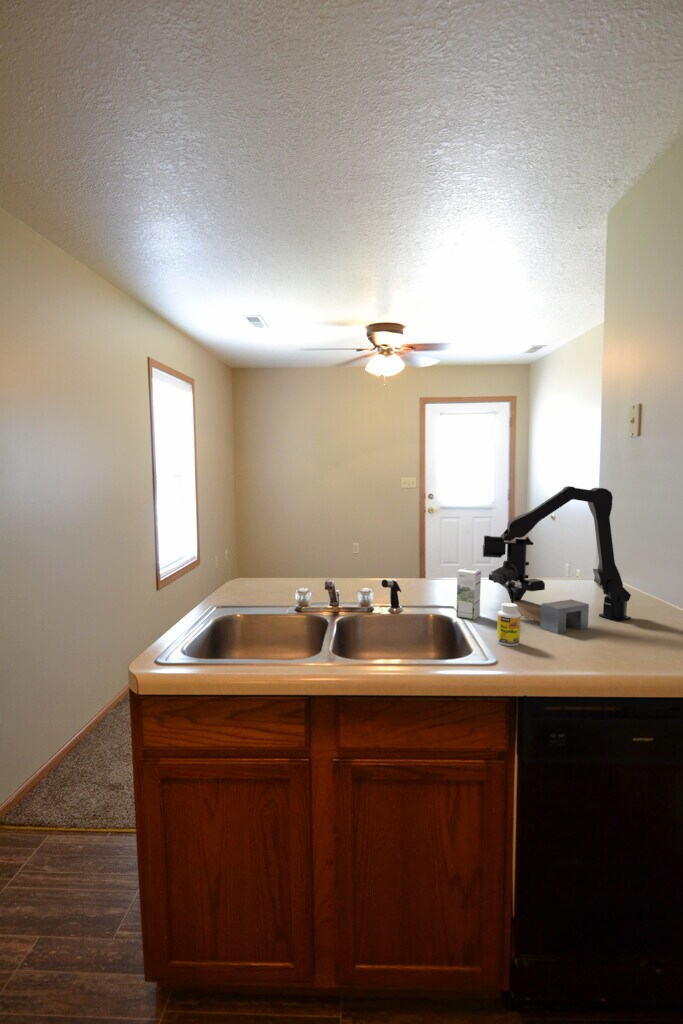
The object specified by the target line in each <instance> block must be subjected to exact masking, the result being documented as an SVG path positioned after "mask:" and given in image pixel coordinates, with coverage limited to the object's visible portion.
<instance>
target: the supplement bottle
mask: <svg viewBox="0 0 683 1024" xmlns="http://www.w3.org/2000/svg"><path fill="white" fill-rule="evenodd" d="M500 609H501V610H498V612H497V627H496V629H497V630H496V631H497V632H496V641H497V643H498V644H499V645H502V646H506V647H515V646H518V645H519V644H520V634H521V616H520V613H519V612H517V610H518V606H517V604H514V603H511V602H502V603H501V608H500Z"/></svg>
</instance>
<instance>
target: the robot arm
mask: <svg viewBox="0 0 683 1024" xmlns="http://www.w3.org/2000/svg"><path fill="white" fill-rule="evenodd" d="M572 500H573V501H582V502H587V505H588V508H589V511H590V512H591V515H592V517H593V521H594V530H595V531H594V532H595V538H596V539H595V540H596V546H597V555H598V566H597V568H592V571H593V575H594V580H593V581H594V583H596V585H597V587H598V588H599V589H601V591H602V593H603V595H604V597H603V598H604V599H603V605H602V606H603V611H602V613H599V614H598V616H599V617H602V618H606V619H609V620H612V621H616V622H621V621H624V620H625V621H626V620H629V619H630V620H631V619H632V617H631V616H629V615H627V611H628V610H627V609H628V602H629V601H630V598H631V597H632V594H631V593H630V592H629V591H628V590H627V589H626V588H625V587H624V583H623V580H622V577H621V574H620V571H619V570H618V567H617V565H616V561H615V554H614V543H613V535H612V529H611V528H612V527H611V514H612V513H611V512H612V508H613V494H612V492H611V491H610V490H608V489H607V488H604V487H592V488H591V489H584V488H580V487H579V488H578V487H574V486H570V485H568V486H567V485H566V486H564V487H563V488H561V490H560V491H558V492H557V493H555V494H554V495H553V496H551V497H550V498H548V499H547V500H544V501H543V502H542V503H541V504H539V505H538V506H537V507H534V508H533V509H532V510H530V511H528V512H524V513H522V514H520V515H517V516H515V517H513V518H511V519H510V520H509V521H508V523H507V526H506V527H507V528H506V529H505V530H504V531H503V533H501V535H500V536H491V535H484V536H483V544H482V557H483V558H498V559H499V558H500V559H502V558H503V557H502V556H504V555H506V560H504V561H503V562H502V563H503V564H502V566H501V567H498V568H495V569H494V570H492V571H490V572H489V574H488V580H489V581H492V582H493V583H497V584H499V585H501V586H502V587H503V588H504V589H505V590H506V591H507V593H508V596H509V600H510V603H514V601H518V600H523V598H524V595H525V593H526V592H527V591H528V592H537V591H545V590H546V582H545V581H544V580H542V579H539V578H538V579H537V578H529V574H527V570H526V568H527V567H526V566H529V565H530V562H529V561H527V548H528V547H527V546H533V545H534V542H533V541H532V540H531V539H530V537H529V536H527V535H528V534H529V532H531V531H532V530H533V529H534V528H535V527H536V526H537V524H538V523H540V522H541V521H542V520H544V519H545V518H547V517H548V516H549V515H551V514H553V513H554V512H555V511H557V510H558V509H561V507H563V506H564V505H566V504H567V503H569V502H570V501H572ZM525 536H526V537H525ZM506 545H507V546H506ZM506 548H507V549H506Z"/></svg>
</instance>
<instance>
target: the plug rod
mask: <svg viewBox="0 0 683 1024" xmlns="http://www.w3.org/2000/svg"><path fill="white" fill-rule="evenodd" d="M514 604H517V606H518V610H517V612H519V613H520V615H521V616H520V617H522V616H524V617H523V618H525V617H527V618H526V619H528V618H530V619H529V620H531V619H533V620H532V621H534V620H536V621H535V622H537V621H539V622H538V623H540V622H541V604H539V603H535V602H533V601H532V602H531V601H529V600H525V599H521V600H518V601H514Z"/></svg>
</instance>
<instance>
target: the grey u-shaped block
mask: <svg viewBox="0 0 683 1024" xmlns="http://www.w3.org/2000/svg"><path fill="white" fill-rule="evenodd" d="M540 605H541V623H540V629H542V628H543V629H542V630H545V631H548V632H551V633H554V634H556V633H557V635H558V634H564V633H566V630H567V628H566V627H567V626H569V627H571V628H574V629H577V630H586V629H589V608H590V604H589V603H586V602H581V601H578V600H575V599H564V600H559V601H558V600H557V601H551V602H545V603H544V602H543V603H541V604H540Z"/></svg>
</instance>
